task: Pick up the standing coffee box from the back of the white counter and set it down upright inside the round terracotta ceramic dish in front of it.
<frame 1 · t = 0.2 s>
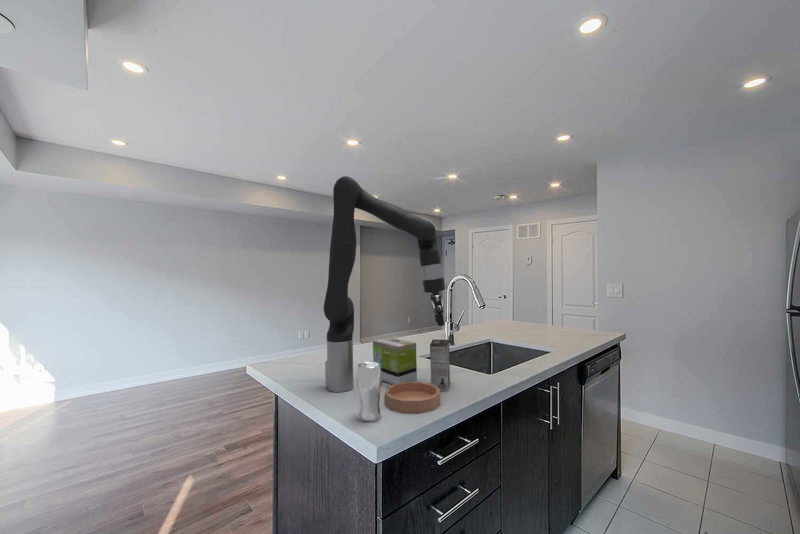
hand: (440, 323, 116), 23 cm above the table, tool pointing down, fingers open, 8 cm apart
beer glass: (370, 418, 95), on the table
tea box: (394, 380, 128), on the table
coffee box: (441, 387, 119), on the table
terracotta dish: (412, 401, 105), on the table
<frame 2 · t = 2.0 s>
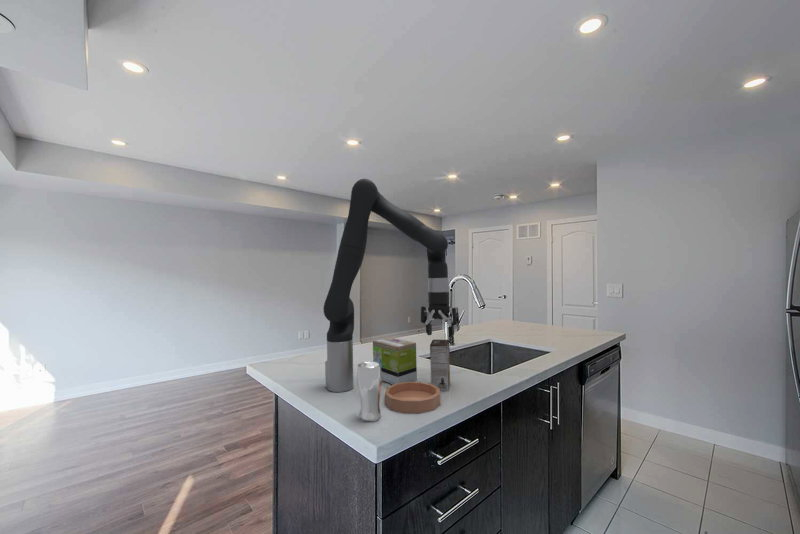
hand: (440, 335, 119), 18 cm above the table, tool pointing down, fingers open, 8 cm apart
nothing on the table moved.
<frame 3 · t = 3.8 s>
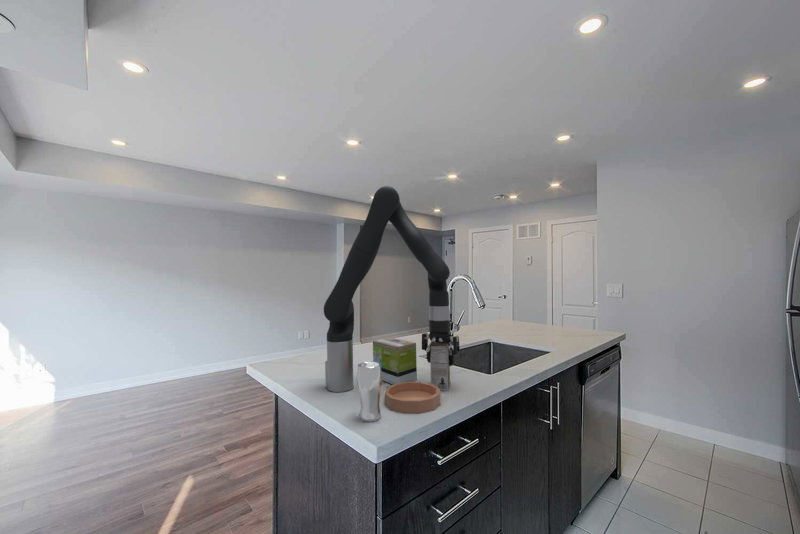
hand: (440, 363, 119), 8 cm above the table, tool pointing down, fingers closed on coffee box, 8 cm apart
coffee box: (441, 387, 119), on the table, touching gripper
everything else where it was.
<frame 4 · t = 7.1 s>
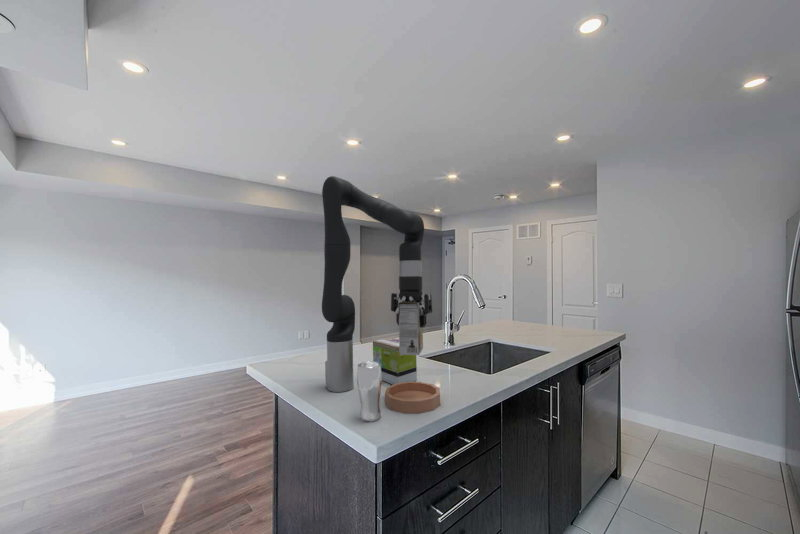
hand: (411, 326, 106), 24 cm above the table, tool pointing down, fingers closed on coffee box, 8 cm apart
coffee box: (411, 352, 106), point 16 cm above the table, touching gripper
everything else where it was.
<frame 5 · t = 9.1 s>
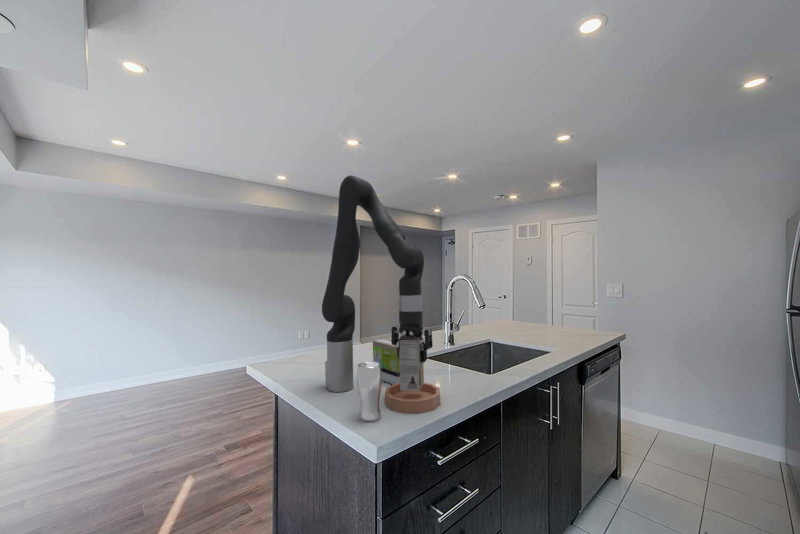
hand: (411, 360, 106), 13 cm above the table, tool pointing down, fingers closed on coffee box, 8 cm apart
coffee box: (412, 386, 105), point 5 cm above the table, touching gripper
everything else where it was.
when the fingers open (11 cm above the table, at t = 10.7 s): coffee box drops 2 cm, resting on terracotta dish.
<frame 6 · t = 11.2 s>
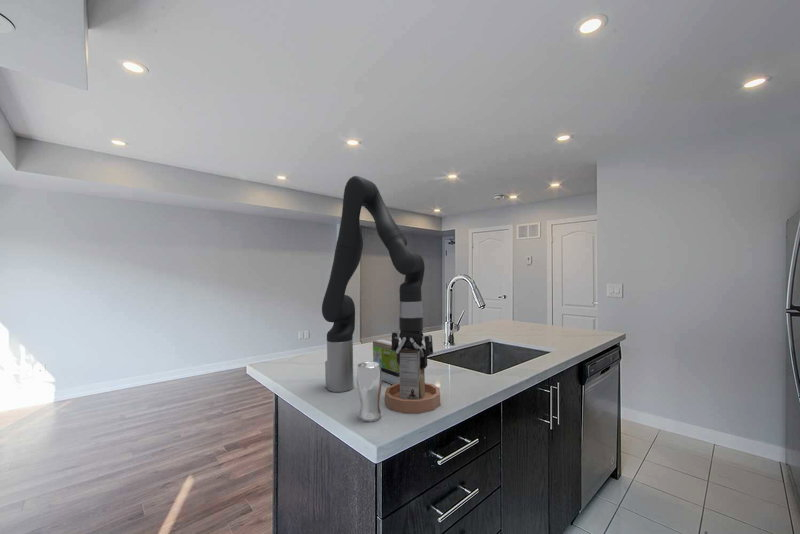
hand: (412, 366, 106), 11 cm above the table, tool pointing down, fingers open, 8 cm apart
coffee box: (412, 399, 105), point 1 cm above the table, touching terracotta dish
everything else where it was.
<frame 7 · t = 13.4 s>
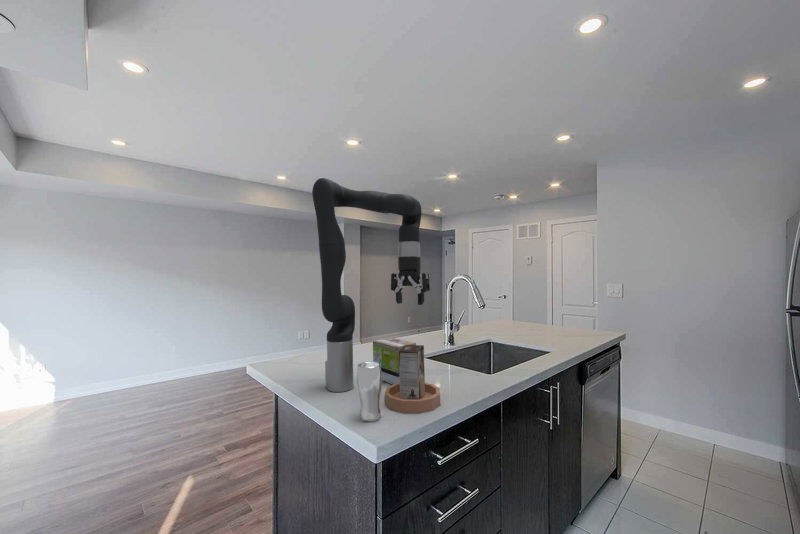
hand: (409, 304, 112), 30 cm above the table, tool pointing down, fingers open, 8 cm apart
nothing on the table moved.
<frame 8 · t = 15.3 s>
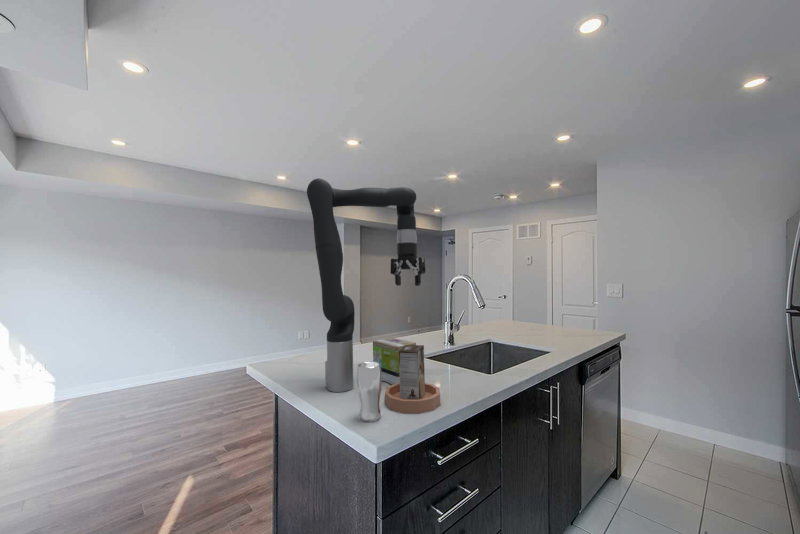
hand: (407, 285, 125), 36 cm above the table, tool pointing down, fingers open, 8 cm apart
nothing on the table moved.
at the end: coffee box inside the target area on the terracotta dish (0.1 cm from its centre), point 0.8 cm above the terracotta dish's base; coffee box tilted 0°; the gripper is holding nothing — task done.
